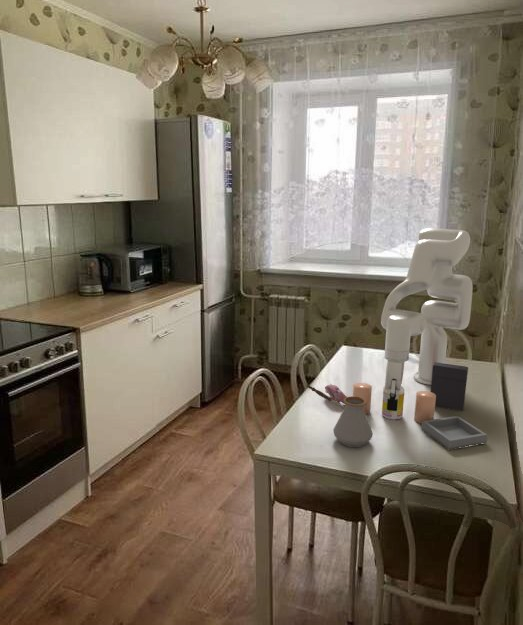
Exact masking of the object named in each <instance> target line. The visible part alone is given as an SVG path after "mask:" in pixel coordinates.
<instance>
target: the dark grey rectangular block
mask: <svg viewBox="0 0 523 625" xmlns="http://www.w3.org/2000/svg"><path fill="white" fill-rule="evenodd" d="M468 372H469V367H468V366H466V365H465V366H464V365H456V364H451V363H450V364H449V363H445V364H444V363H437V362H434V364H433V370H432V382H431V385H430V392H432V393H434V394H435V395H436V402H435V407H436V406H437V408H442V407H443V409H448V408H449V410H453V409H454V410H453V411H460V412H463V411H464V407H465V399H466V390H467V383H468V382H467V381H468V375H469V374H468Z"/></svg>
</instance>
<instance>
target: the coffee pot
mask: <svg viewBox="0 0 523 625" xmlns="http://www.w3.org/2000/svg"><path fill="white" fill-rule="evenodd" d="M307 389H309V390H311V391H312V392H315V393H316V394H317V395H318V396H319V397H321V398H323V399H325V400H326V401H329V402H331V403H333V404H334V405H336V407H338V408H340V409H341V410H343V411H342V412H341V414H340V416H339V418H338V420H337V422H336V423H335V425H334V427H333V429H332V430H333V434H334V437H335V438H336V440H337V441H338V442H340V443H341V444H342V445H344V446H347V447H348V448H349V447H350V448H359V447H363V446H365V445H366V444H367V443H369V442H370V441H371V440H372V438H373V434H374V433H373V429H372V427H371V424H370V422H369V419H368V417H367V415H366V414H365V411H364V409H363V407H364V405H365V404H366V401H365V400H364V399H363V398H361V397H358V396H353V395H352V396H347V397H346V398H345V399H344V403H345V404H344V403H343V405H342V404H341V403H340V402H339V403H337V402H336V401H335V399H334V400H333V399H332V398H331V396H330V397H329V396H328V395H327V394H325V393H324V392H322V391H320V390H318V389H317V388H315V387H314V386H313V387H312V386H311V385H309V384H306V386H305V388H304V391H306V390H307ZM344 405H345V406H344Z"/></svg>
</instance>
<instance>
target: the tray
mask: <svg viewBox="0 0 523 625" xmlns="http://www.w3.org/2000/svg"><path fill="white" fill-rule="evenodd" d="M421 430H422V432H424V433H425V432H426V434H427V435H428V436H429V435H430V436H429V437H430V438H432V439H433V438H434V439H433V440H435V441H436V442H437V441H438V442H437V443H439V444H440V443H441V444H442V445H441V444H440V445H441V446H442V447H444V448H445V447H446V448H445V449H446V450H448V451H452V450H451V449H454V450H456V449H455V448H459V447H465V446H469V445H476V444H481V443H486V444H487V440H488V434H487V433H485V432H484V431H482V430H481V429H479V428H477V427H476V426H474V425H473V424H472V423H469V422H468V420H465V419H463V418H462V417H461V416H459V415H455V416H449V417H441V418H434V420H427V421H423V424H421ZM465 448H466V447H465Z"/></svg>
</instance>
